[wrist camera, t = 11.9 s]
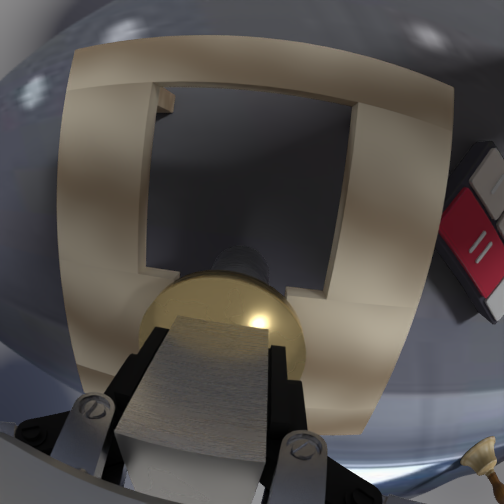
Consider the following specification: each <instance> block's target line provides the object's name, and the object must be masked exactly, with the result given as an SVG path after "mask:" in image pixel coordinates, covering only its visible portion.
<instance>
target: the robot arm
mask: <svg viewBox="0 0 504 504" xmlns="http://www.w3.org/2000/svg"><path fill="white" fill-rule="evenodd" d="M168 332H169V329H167V328H162V327H157V326H156V327H155V328H154V329H153V331H152V332H151V334H150V335H149V337H148V338H147V340H146V341H145V343H144V344H143V346H142V347H141V349H140V350H139V352H138V354H133V353H132V354H130V355H129V356H128V357H127V359H126V360H125V362H124V363H123V365H122V366H121V368H120V369H119V371H118V372H117V374H116V375H115V377H114V378H113V380H112V381H111V383H110V384H109V386H108V387H107V389H106V391H105V392H104V394H102V393H98V392H90V393H86V394H83V395H81V396H80V397H79V398H78V399H77V400H76V401H75V403H74V405H73V407H72V409H71V411H67V412H63V413H58V414H54V415H49V416H44V417H40V418H34V419H29V420H26V421H24V422H22V423H20V424H19V426H16V424H15V423H9V422H0V504H183V503H178V502H174V501H170V500H166V499H162V498H158V497H154V496H150V495H147V494H143V493H140V492H137V491H134V490H130V489H127V488H124V484H125V479H126V474H127V468H126V466H125V463H124V460H123V458H122V455H121V452H120V449H119V446H118V443H117V440H116V437H115V434H114V430H115V429H116V427H117V425H118V423H119V421H120V419H121V417H122V415H123V413H124V411H125V410H126V408H127V406H128V404H129V402H130V400H131V398H132V397H133V395H134V393H135V391H136V389H137V387H138V385H139V384H140V382H141V380H142V378H143V376H144V374H145V373H146V371H147V369H148V367H149V365H150V364H151V362H152V360H153V358H154V356H155V355H156V353H157V351H158V349H159V347H160V346H161V344H162V342H163V340H164V339H165V337H166V335H167V333H168ZM259 482H260V483H261V484H262V485H263V486H264V487H265V489H264V493H263V497H262V501H261V504H425V503H420V502H416V501H412V500H408V499H405V498H401V497H397V496H394V495H390V494H389V495H388V496H384V495H382V494H381V492H380V491H379V489H378V488H376V487H375V486H374V485H372V484H371V483H369V482H367V481H366V480H364V479H362V478H361V477H359V476H357V475H356V474H354V473H353V472H351V471H350V470H348V469H346V468H345V467H343V466H342V465H340V464H339V463H337V462H336V461H334V460H333V459H331V458H330V457H328V456H327V444H326V442H325V441H324V439H323V438H322V437H321V436H319V435H318V434H316V433H314V432H311V431H308V428H307V419H306V410H305V402H304V393H303V385H302V381H299V380H288V376H287V361H286V348H285V346H277V345H271V347H270V348H268V391H267V430H266V462H265V466H264V469H263V472H262V474H261V477H260V480H259Z"/></svg>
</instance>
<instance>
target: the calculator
mask: <svg viewBox="0 0 504 504" xmlns="http://www.w3.org/2000/svg"><path fill="white" fill-rule="evenodd" d="M435 249H436V250H437V251H438V253H439V254H440V255H441V257H442V258H443V260H444V261H445V262H446V264H447V265H448V266H449V268H450V269H451V271H452V272H453V273H454V275H455V276H456V278H457V279H458V280H459V282H460V283H461V285H462V286H463V288H464V289H465V291H466V293H467V295H468V296H469V298H470V300H471V301H472V303H473V304H474V306H475V308H476V309H477V311H478V312H479V313H480V314H481V315H482V316H484V317H485V318H486V319H487V320H488V321H490V322H491V323H492V324H496V323H497V322H498V321H499V320H500V318H501V317H502V316H503V315H504V158H503V157H502V155H501V154H500V152H499V150H498V149H497V147H496V146H495V144H494V143H493V142H492V141H485V142H476V143H475V144H474V145H473V146H472V148H471V149H470V150H469V152H468V153H467V154H466V156H465V157H464V158H463V160H462V161H461V162H460V164H459V165H458V166H457V168H456V169H455V170H454V172H453V173H452V174H451V175H450V177H449V178H448V180H447V187H446V193H445V199H444V205H443V210H442V216H441V221H440V225H439V230H438V235H437V239H436V243H435Z"/></svg>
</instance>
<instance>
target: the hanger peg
mask: <svg viewBox="0 0 504 504" xmlns="http://www.w3.org/2000/svg"><path fill="white" fill-rule="evenodd" d="M156 326H157V327H162V328H167V329H169V332H168V333H167V335H166V337H165V339H164V340H163V342H162V344H161V346H160V347H159V349H158V351H157V353H156V355H155V356H154V358H153V360H152V362H151V364H150V365H149V367H148V369H147V371H146V373H145V374H144V376H143V378H142V380H141V382H140V384H139V385H138V387H137V389H136V391H135V393H134V395H133V397H132V398H131V400H130V402H129V404H128V406H127V408H126V410H125V411H124V413H123V415H122V417H121V419H120V421H119V423H118V425H117V427H116V429H115V430H114V434H115V437H116V440H117V443H118V446H119V449H120V452H121V455H122V458H123V460H124V463H125V466H126V468H127V471H128V474H129V476H130V479H131V481H132V484H133V486H134V489H135V491H137V492H140V493H143V494H147V495H150V496H154V497H158V498H162V499H166V500H170V501H174V502H178V503H183V504H251V503H252V500H253V497H254V494H255V492H256V489H257V486H258V483H259V480H260V477H261V474H262V472H263V469H264V466H265V462H266V430H267V391H268V348H270V347H271V345H277V346H285V348H286V361H287V376H288V380H300V378H301V376H302V373H303V371H304V367H305V362H306V347H305V341H304V335H303V329H302V326H301V323H300V320H299V318H298V316H297V314H296V312H295V310H294V309H293V307H292V306H291V305H290V303H289V302H288V301H287V300H286V299H285V298H284V297H283V295H281V294H280V293H279V292H278V291H277V290H275V289H274V288H273V287H271V286H270V285H269V267H268V264H267V262H266V260H265V258H264V257H263V256H262V255H261V254H260V253H259V252H258V251H256V250H255V249H253V248H250V247H247V246H233V247H230V248H228V249H226V250H224V251H223V252H222V253H220V254H219V256H218V257H217V258H216V260H215V262H214V264H213V266H212V267H211V269H210V270H205V271H200V272H195V273H192V274H188V275H185V276H183V277H181V278H179V279H177V280H175V281H174V282H172V283H171V284H169V285H168V286H167V287H166V288H165V289H163V290H162V291H161V292H160V294H159V295H158V296H157V297H156V299H155V300H154V301H153V303H152V304H151V305H150V306H149V308H148V309H147V311H146V312H145V314H144V316H143V318H142V321H141V324H140V329H139V348H140V349H141V347H142V346H143V344H144V343H145V341H146V340H147V338H148V337H149V335H150V334H151V332H152V331H153V329H154V328H155V327H156Z"/></svg>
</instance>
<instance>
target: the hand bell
mask: <svg viewBox="0 0 504 504" xmlns="http://www.w3.org/2000/svg"><path fill="white" fill-rule="evenodd" d="M494 444H495V437H494V436H490V437H488V438H485V439H483V440H482V441H480V442H479V443H477V444H476V445H475V446H473V447H472V448H471V449H470V450H469V451H468V452H467V453H466V454H465V455H464V456H463V457H462V459H461V462H460V463H461V464H462V465H464V466H470V467H471V468H472V469H473V470H474V471H475V472H476V473H477V475H479V476H480V475H484V474H485V475H486V476H487V477H488V479H489V480H490V482H491V484H492V486H493V492H494V496H495V498H496V500H497V502H498V503H499V504H504V484H502V483H501V482H500V481H499V479H498V477H497V475H496V473H495V472H494V469H493V468H494V466H495V465H496V463H497V460H496V457H495V454H494Z"/></svg>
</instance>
